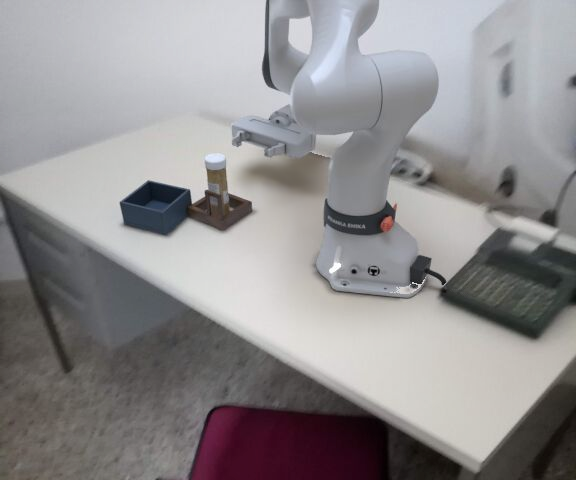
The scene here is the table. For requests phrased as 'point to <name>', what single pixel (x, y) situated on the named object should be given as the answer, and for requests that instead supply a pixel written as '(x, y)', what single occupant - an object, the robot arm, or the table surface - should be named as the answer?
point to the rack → (219, 210)
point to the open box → (156, 207)
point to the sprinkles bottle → (217, 181)
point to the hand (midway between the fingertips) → (250, 148)
